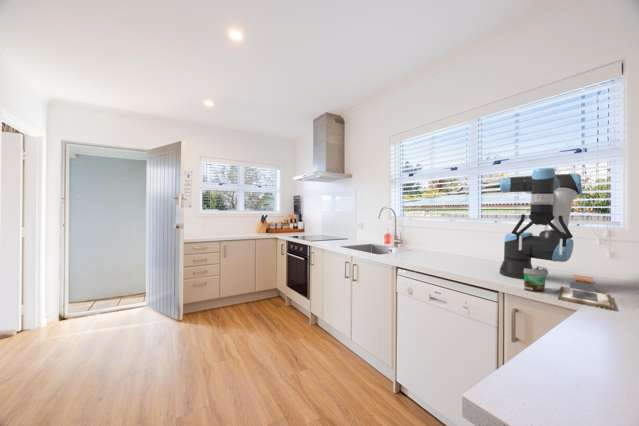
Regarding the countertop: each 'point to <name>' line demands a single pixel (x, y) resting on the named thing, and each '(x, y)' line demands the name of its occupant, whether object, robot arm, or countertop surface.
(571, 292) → the drawing board
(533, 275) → the food container
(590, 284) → the button housing
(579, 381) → the countertop surface
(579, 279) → the button
